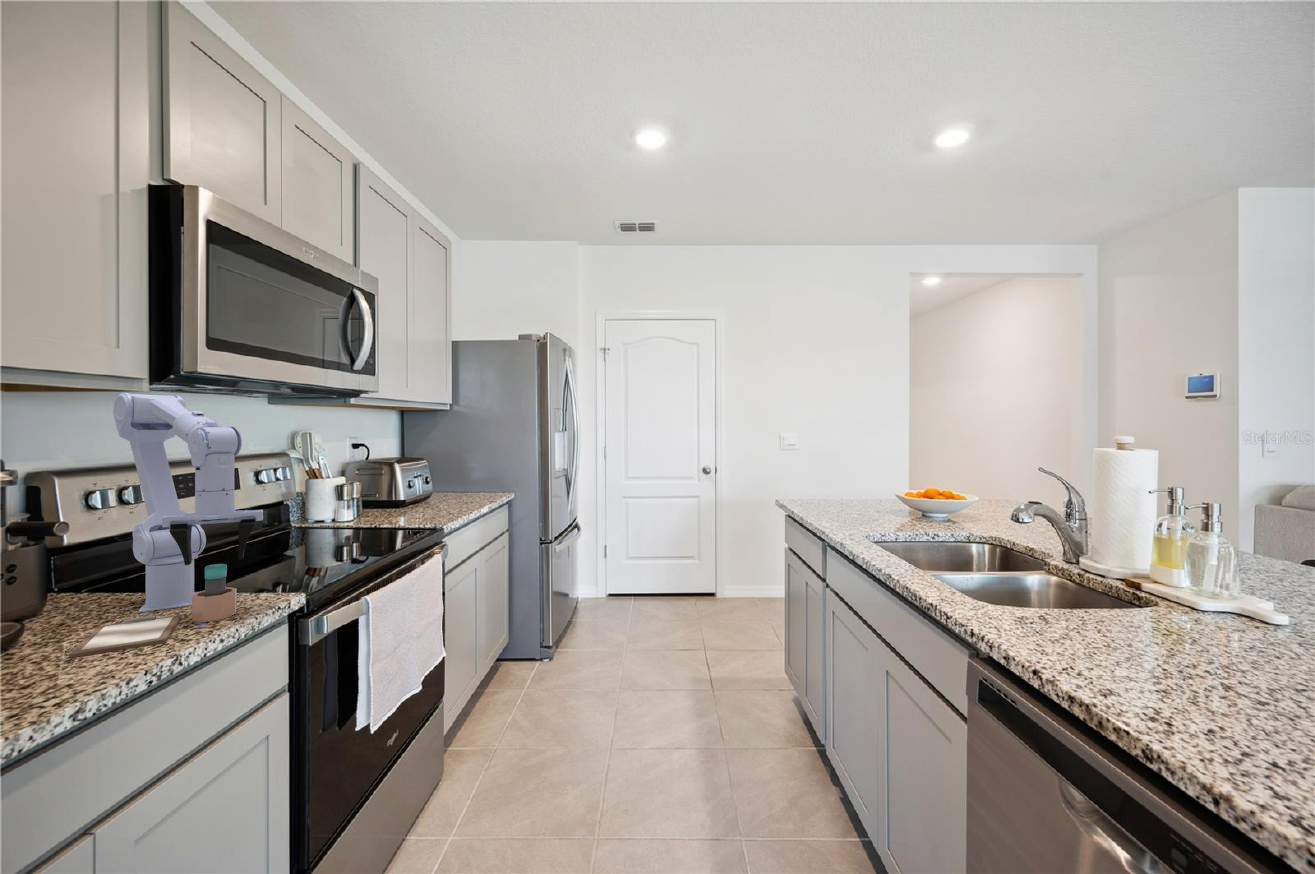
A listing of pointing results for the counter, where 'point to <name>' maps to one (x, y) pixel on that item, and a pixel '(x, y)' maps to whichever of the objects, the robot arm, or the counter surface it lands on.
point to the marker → (215, 579)
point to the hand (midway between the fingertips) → (215, 561)
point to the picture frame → (127, 635)
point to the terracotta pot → (214, 606)
